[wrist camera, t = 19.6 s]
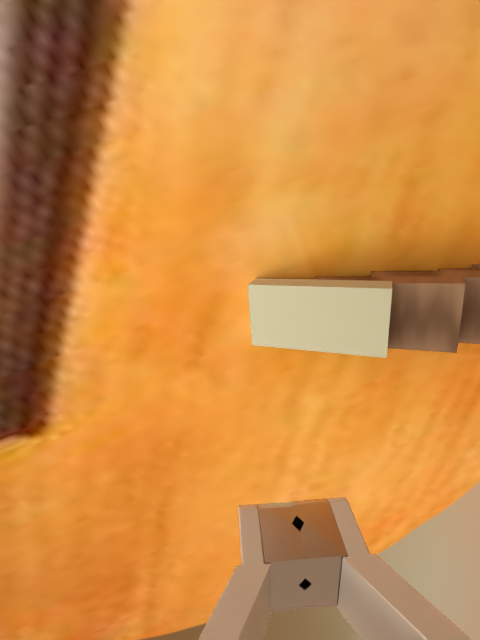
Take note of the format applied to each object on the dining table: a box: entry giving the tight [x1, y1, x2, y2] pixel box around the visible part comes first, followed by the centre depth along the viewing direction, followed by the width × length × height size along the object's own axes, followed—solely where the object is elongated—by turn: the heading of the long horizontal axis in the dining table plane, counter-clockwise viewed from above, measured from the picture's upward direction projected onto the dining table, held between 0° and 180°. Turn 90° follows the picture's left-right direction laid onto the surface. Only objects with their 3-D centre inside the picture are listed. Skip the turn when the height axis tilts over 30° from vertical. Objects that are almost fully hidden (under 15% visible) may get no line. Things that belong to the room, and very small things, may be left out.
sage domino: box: [248, 278, 392, 358], centre depth 26 cm, size 5×2×10 cm
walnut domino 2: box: [371, 271, 480, 344], centre depth 27 cm, size 5×2×10 cm
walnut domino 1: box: [315, 276, 465, 353], centre depth 26 cm, size 5×2×10 cm
